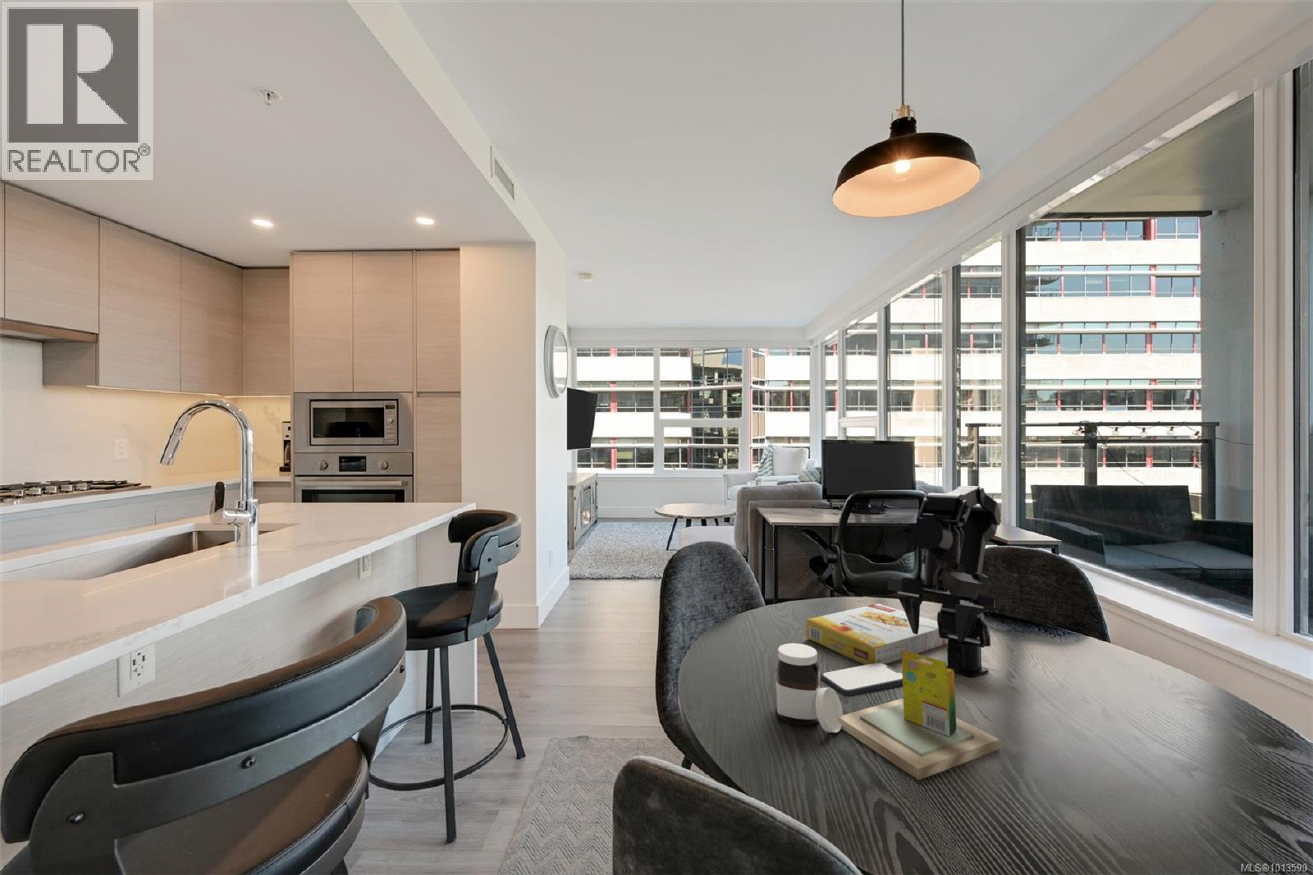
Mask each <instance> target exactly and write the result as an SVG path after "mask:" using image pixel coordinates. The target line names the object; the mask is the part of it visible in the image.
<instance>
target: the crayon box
mask: <svg viewBox="0 0 1313 875" xmlns="http://www.w3.org/2000/svg"><path fill="white" fill-rule="evenodd" d="M922 659H924V660H925V661H924V660H922ZM901 660H902V661H901V664H902V665H901V668H902V669H901V673H902V675H903V685H902V696H903V704H904V719H905V720H907V721H911V722H914V723H916V724H919V725H921V726H924V727H926V728H929V729H932V730H934V731H937V732H939V733H942V734H944V735H945V736H948V737H949V736H950V735H952V734H953V733H954V732H955V731H956V718H957V715H956V714H957V712H956V687H955V686H956V685H955V683H956V682H955V671H954V670H952V669H948V668H946V662H947V661H943V660H939V659H936V658H932V657H929V656H926V655H922V654H919V653H917V654H916V653H912V652H908V651H905V650H902V659H901Z"/></svg>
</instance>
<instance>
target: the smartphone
mask: <svg viewBox="0 0 1313 875" xmlns="http://www.w3.org/2000/svg"><path fill="white" fill-rule="evenodd" d="M820 681H823V682H824V683H826V684H827V685H828V686H830V688H832V689H833V690H836V691H837V692H838V693H840V694H841V695H844V696H854V695H858V694H864V693H865V694H866V693H870V692H876V691H880V690H887V689H890V688H897V687H901V686H902V687H903V675H902V672H901V671H898V670H897V669H895V668H893V667H891V666H889V665H887V664H884V663H872V664H867V665H865V664H862V665H858V666H853V667H852V666H851V667H848V668H842V669H836V670H832V671H827V672H821V674H820Z"/></svg>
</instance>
